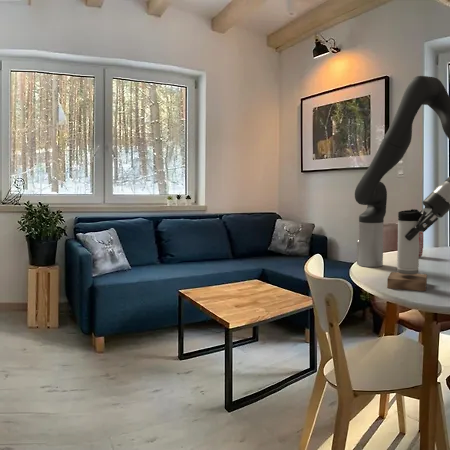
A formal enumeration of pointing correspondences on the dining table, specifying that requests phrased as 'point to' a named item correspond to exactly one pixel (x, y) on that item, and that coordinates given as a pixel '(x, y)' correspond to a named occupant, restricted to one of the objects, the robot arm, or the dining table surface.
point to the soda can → (420, 244)
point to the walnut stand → (407, 281)
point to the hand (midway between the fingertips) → (403, 237)
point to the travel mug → (407, 243)
